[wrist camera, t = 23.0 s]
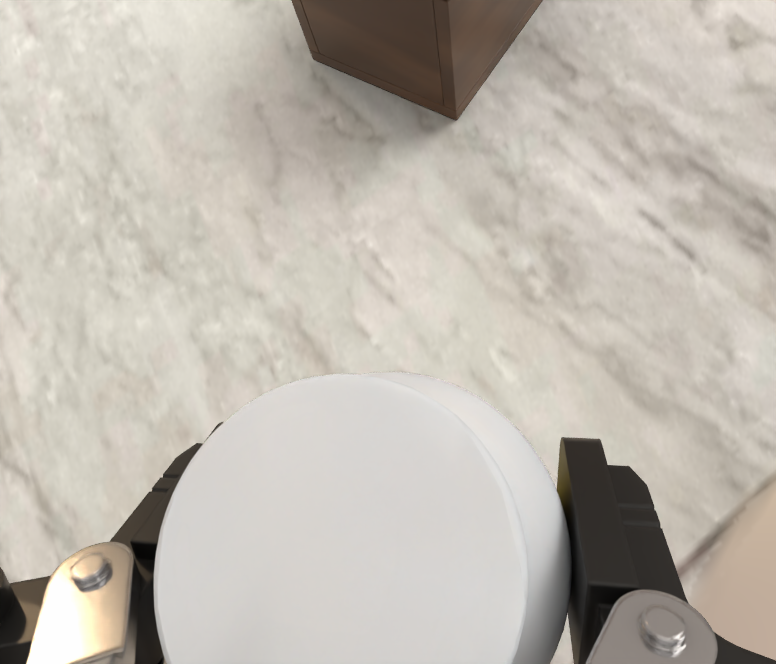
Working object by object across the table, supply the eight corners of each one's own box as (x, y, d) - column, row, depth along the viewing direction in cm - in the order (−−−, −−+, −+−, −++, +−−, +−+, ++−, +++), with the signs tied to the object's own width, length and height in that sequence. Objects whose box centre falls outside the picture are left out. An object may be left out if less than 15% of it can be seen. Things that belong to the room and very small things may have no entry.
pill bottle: (416, 396, 19) (318, 221, 8) (581, 527, 17) (739, 521, 6) (289, 550, 18) (-11, 581, 7) (446, 711, 16) (348, 1092, 5)
